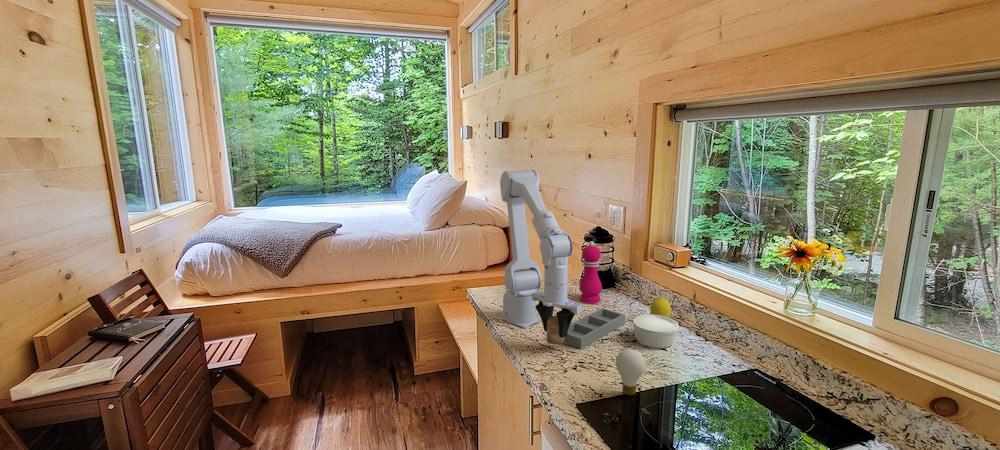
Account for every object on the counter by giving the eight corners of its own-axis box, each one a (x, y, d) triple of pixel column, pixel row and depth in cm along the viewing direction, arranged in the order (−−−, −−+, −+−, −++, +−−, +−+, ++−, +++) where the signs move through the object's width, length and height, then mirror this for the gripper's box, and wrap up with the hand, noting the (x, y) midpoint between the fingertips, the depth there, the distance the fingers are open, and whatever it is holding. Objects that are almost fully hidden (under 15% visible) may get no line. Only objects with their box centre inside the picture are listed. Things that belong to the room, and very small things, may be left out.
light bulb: (610, 387, 97) (612, 344, 95) (637, 386, 98) (639, 343, 96) (620, 403, 91) (621, 358, 89) (648, 401, 92) (650, 356, 90)
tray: (557, 340, 120) (557, 330, 119) (602, 316, 135) (602, 307, 134) (580, 349, 115) (581, 339, 114) (624, 323, 129) (625, 314, 129)
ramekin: (684, 340, 119) (685, 321, 118) (666, 355, 111) (667, 335, 110) (644, 328, 126) (644, 310, 125) (624, 342, 118) (625, 323, 117)
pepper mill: (604, 299, 149) (606, 240, 145) (597, 306, 143) (598, 244, 139) (584, 295, 153) (585, 237, 149) (575, 302, 147) (576, 242, 143)
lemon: (671, 328, 126) (673, 301, 124) (650, 327, 127) (652, 300, 125) (668, 320, 131) (670, 294, 129) (648, 319, 132) (649, 293, 131)
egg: (543, 340, 115) (543, 316, 113) (554, 335, 118) (554, 311, 116) (556, 346, 112) (557, 321, 110) (567, 340, 115) (568, 315, 113)
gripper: (523, 279, 114) (523, 329, 117) (569, 293, 104) (569, 347, 106) (541, 273, 119) (541, 321, 121) (587, 285, 109) (586, 338, 111)
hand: (555, 333), depth 114 cm, fingers closed on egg, 4 cm apart
